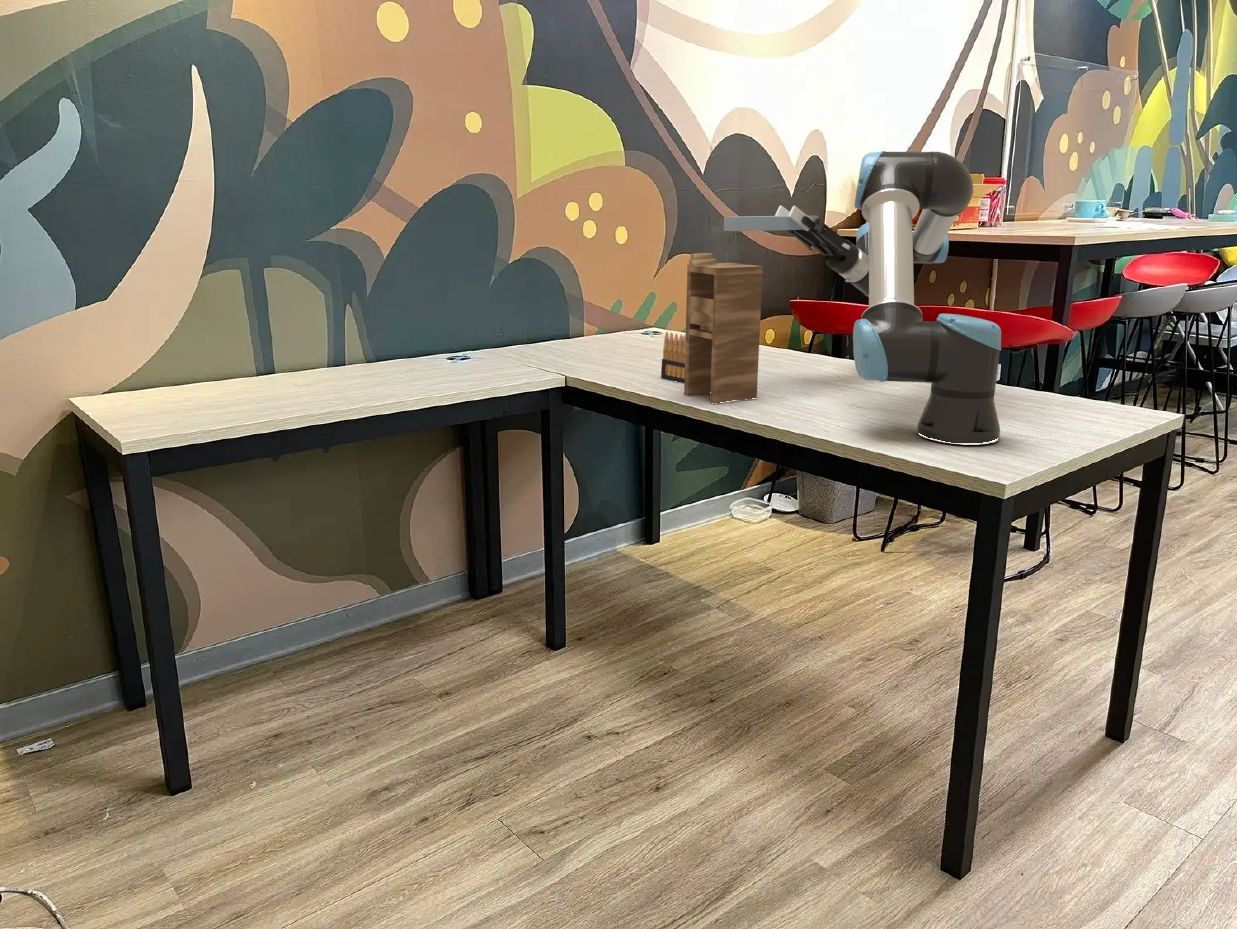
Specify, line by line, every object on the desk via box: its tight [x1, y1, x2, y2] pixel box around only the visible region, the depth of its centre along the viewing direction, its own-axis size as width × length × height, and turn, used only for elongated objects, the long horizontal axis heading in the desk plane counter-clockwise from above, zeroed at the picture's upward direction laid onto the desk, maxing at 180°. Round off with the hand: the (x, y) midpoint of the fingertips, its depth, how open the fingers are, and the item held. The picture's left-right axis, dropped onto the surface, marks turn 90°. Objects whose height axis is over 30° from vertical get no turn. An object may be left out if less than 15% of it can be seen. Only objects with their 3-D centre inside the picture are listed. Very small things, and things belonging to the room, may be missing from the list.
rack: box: [683, 252, 764, 405], centre depth 212 cm, size 12×12×32 cm
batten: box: [723, 215, 819, 232], centre depth 212 cm, size 4×24×3 cm, turn 120°
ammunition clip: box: [660, 331, 686, 384], centre depth 233 cm, size 11×2×12 cm, turn 39°
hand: (785, 210), depth 213 cm, fingers closed on batten, 4 cm apart
